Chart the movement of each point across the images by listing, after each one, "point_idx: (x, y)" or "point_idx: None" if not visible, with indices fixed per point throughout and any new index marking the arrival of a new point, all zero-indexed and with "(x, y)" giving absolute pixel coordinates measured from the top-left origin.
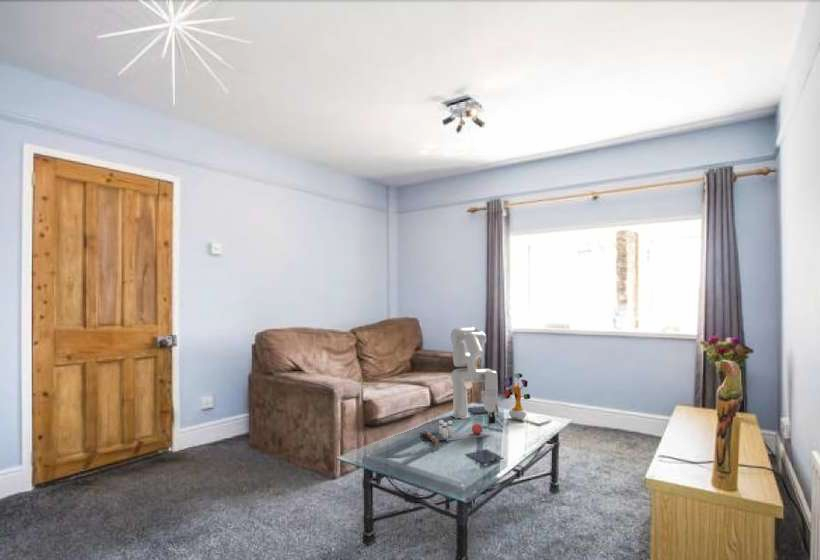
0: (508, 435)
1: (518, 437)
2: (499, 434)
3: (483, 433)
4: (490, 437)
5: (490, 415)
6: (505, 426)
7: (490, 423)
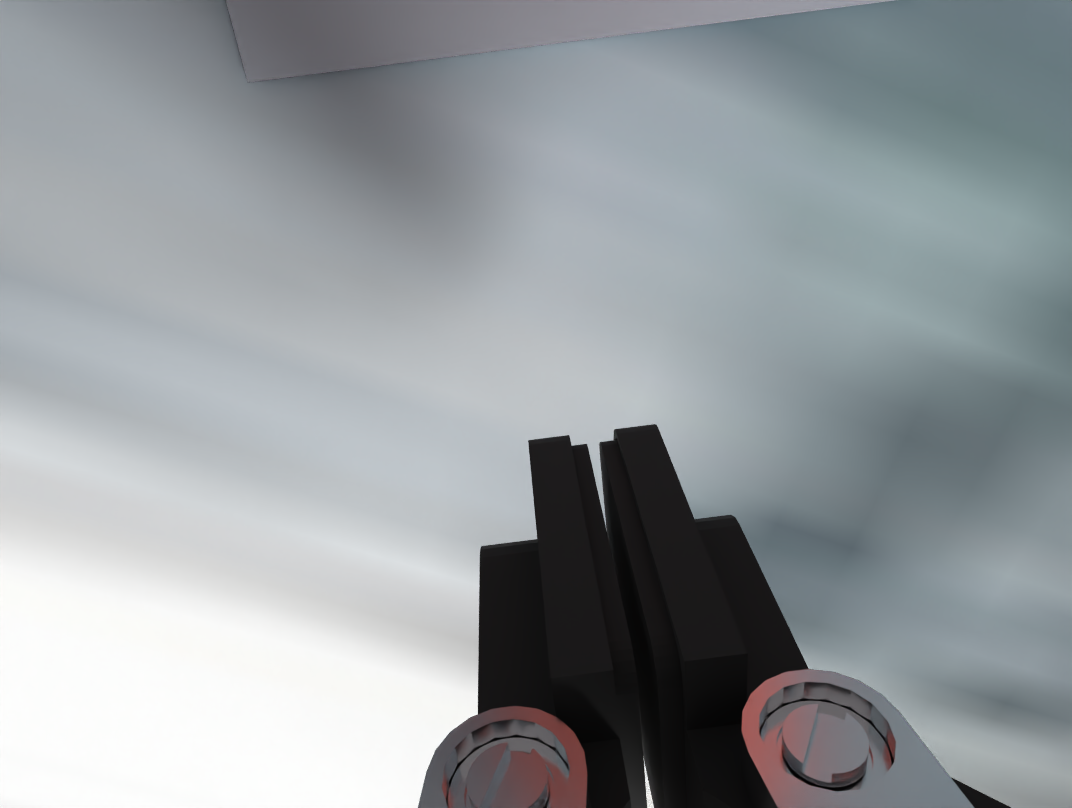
0: (314, 636)
1: (164, 755)
2: (416, 483)
3: (555, 38)
4: (147, 144)
5: (571, 789)
6: (946, 760)
7: (528, 441)
